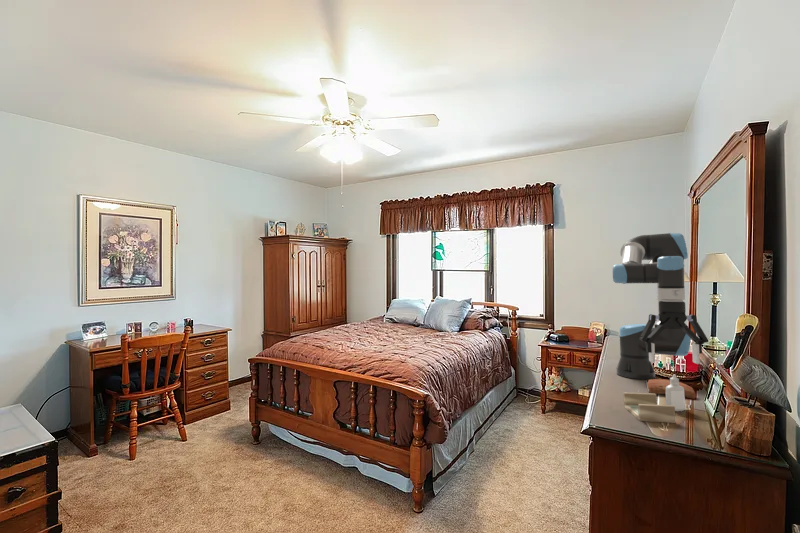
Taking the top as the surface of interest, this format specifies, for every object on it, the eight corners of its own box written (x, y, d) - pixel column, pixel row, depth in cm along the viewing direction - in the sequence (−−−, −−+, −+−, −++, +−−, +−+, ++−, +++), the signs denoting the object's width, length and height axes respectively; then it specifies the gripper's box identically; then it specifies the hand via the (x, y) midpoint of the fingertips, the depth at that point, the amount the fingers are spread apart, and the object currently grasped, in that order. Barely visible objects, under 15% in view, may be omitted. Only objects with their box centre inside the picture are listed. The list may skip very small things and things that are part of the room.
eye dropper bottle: (687, 412, 127) (686, 376, 128) (667, 410, 129) (666, 375, 130) (683, 408, 131) (682, 373, 132) (664, 406, 133) (663, 372, 134)
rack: (624, 406, 134) (623, 392, 134) (655, 408, 132) (654, 393, 132) (640, 421, 121) (639, 405, 121) (675, 422, 119) (674, 406, 119)
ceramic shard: (688, 376, 153) (696, 392, 140) (685, 391, 154) (693, 408, 141) (645, 368, 160) (649, 382, 146) (643, 382, 161) (647, 397, 148)
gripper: (636, 301, 130) (638, 363, 129) (719, 301, 125) (722, 366, 124) (627, 300, 137) (629, 359, 137) (705, 300, 133) (708, 361, 132)
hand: (673, 362), depth 131 cm, fingers open, 13 cm apart
